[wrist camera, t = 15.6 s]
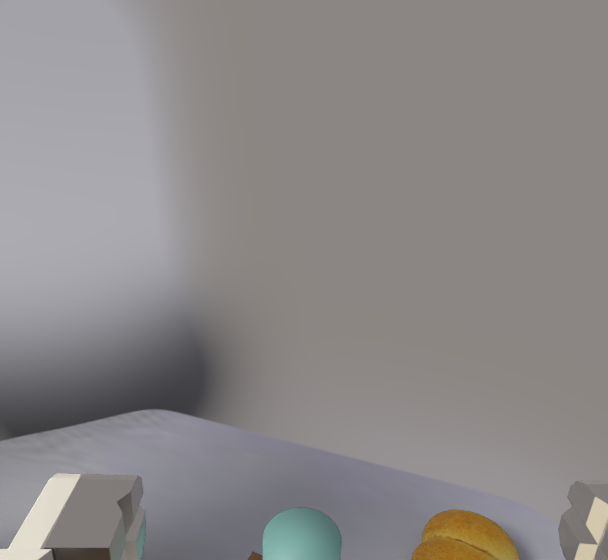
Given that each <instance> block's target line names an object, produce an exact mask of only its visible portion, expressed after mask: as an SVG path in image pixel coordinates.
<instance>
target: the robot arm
mask: <svg viewBox="0 0 608 560" xmlns="http://www.w3.org/2000/svg"><path fill="white" fill-rule="evenodd" d="M142 495H143V485H142V478H141V477H139V476H128V475H101V474H84V475H81V474H59V473H57V474H55V475H54V476H53V477H51V478H50V479H49V481H48V482H47V484H46V486H45V487H44V489H43V491H42V492H41V494H40V496H39V497H38V499H37V501H36V502H35V504H34V506H33V507H32V509H31V511H30V513H29V514H28V516H27V518H26V519H25V521H24V523H23V524H22V526H21V528H20V529H19V531H18V533H17V534H16V536H15V538H14V539H13V541H12V543H11V544H10V546H9V548H8V549H0V560H141V556H142V553H143V547H144V541H145V533H146V517H145V511H144V510H143V509H142V508H141V507H140V506H139V504H140V501H141V498H142ZM568 499H569V501H570V502H571V504H572V507H571V508H570V509H569V510H567V511H566V512H565V513H564V514H563V515H562V517H561V521H560V525H559V539H560V546H561V548H562V551H563V554H564V557H565V559H566V560H608V481H576V482H575V483H574V484H573V485H572V486H571V487H570V491H569V494H568Z"/></svg>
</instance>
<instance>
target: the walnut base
mask: <svg viewBox="0 0 608 560" xmlns="http://www.w3.org/2000/svg"><path fill="white" fill-rule="evenodd" d="M248 560H263V556H262V555H260V554H257V553H255V552H252V554H251V555H250V557H249V558H248Z"/></svg>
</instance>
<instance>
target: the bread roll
mask: <svg viewBox="0 0 608 560" xmlns="http://www.w3.org/2000/svg"><path fill="white" fill-rule="evenodd" d="M412 560H520V558H519V554H518V551H517V549H516V547H515V545H514V543H513V541H512V540H511V539H510V537H509V536H508V534H507V533H506V532H505V531H504V530H503V529H502V528H501V527H499V526H498V525H497V524H496V523H494V522H493V521H491V520H490V519H488V518H486V517H484V516H482V515H479V514H477V513H473V512H470V511H463V510H448V511H444V512H441V513H439V514H437V515H435V516H434V517H433V518H431V520H430V521H429V522H428V524H427V525H426V527H425V529H424V532H423V537H422V544H421V545H419V546H418V547H417V548H416V550H415V552H414V554H413V557H412Z"/></svg>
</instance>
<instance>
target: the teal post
mask: <svg viewBox="0 0 608 560" xmlns="http://www.w3.org/2000/svg"><path fill="white" fill-rule="evenodd" d="M340 554H341V534H340V531H339V529H338V527H337V525H336V524H335V523H334V521H333V520H332V519H331V518H329V517H328V516H327V515H325V514H324V513H322V512H320V511H317V510H315V509H311V508H303V507H299V508H291V509H287V510H285V511H282V512H280V513H278V514H277V515H275V516H274V517H273V518H272V519H271V520H270V521H269V522H268V524H267V526H266V528H265V530H264V533H263V560H340Z"/></svg>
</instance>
